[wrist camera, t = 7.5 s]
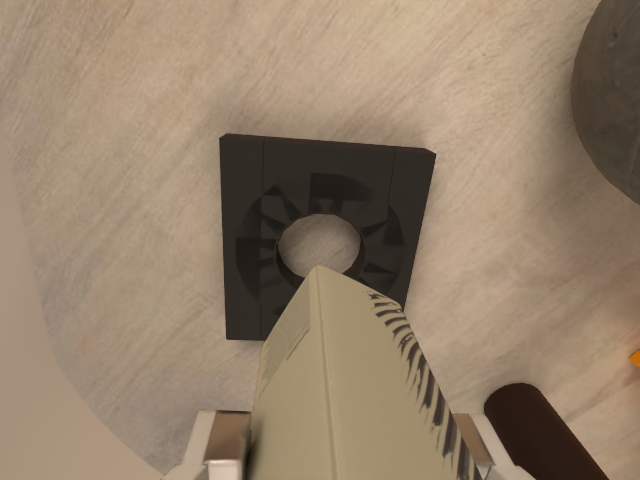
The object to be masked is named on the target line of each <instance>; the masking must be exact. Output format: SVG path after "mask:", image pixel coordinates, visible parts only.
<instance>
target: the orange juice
mask: <svg viewBox="0 0 640 480" xmlns="http://www.w3.org/2000/svg"><path fill="white" fill-rule="evenodd" d="M629 359H630V360H631V361H633V362H634V363H635V364H636V365H637V366H639V367H640V350H638V351H637V352H636V353H634V354H633V355H632V356H630V357H629Z"/></svg>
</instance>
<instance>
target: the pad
mask: <svg viewBox="0 0 640 480" xmlns="http://www.w3.org/2000/svg"><path fill="white" fill-rule="evenodd" d="M219 143H220V172H221V201H222V230H223V259H224V288H225V317H226V339H227V340H256V341H260V340H261V341H266V340H267V338H268V336H269V335H270V333H271V331H272V330H273V328H274V326H275V325H276V323H277V322H278V320H279V318H280V317H281V315H282V313H283V312H284V310H285V309H286V307H287V306H288V304H289V302H290V301H291V299H292V298H293V296H294V295H295V293H296V292H297V290H298V289H299V287H300V286H301V284H302V283H303V281H304V280H305V278H303V277H300V276H298V275H296V274H294V273H293V272H292V271H291V270H290V269H289V268H288V267H287V266H286V265H285V264H283V261H282V259H281V257H280V254H279V252H278V241H279V240H280V238H281V236H282V234H283V232H284V230H285V229H287V228H288V227H289V226H290V225H291V224H293V223H294V222H295V221H296V220H297V219H300V218H303V217H306V216H310V215H313V214H331V215H336V216H338V217H340V218H342V219H344V220H346V221H348V222H350V223H351V224H352V225H353V226H354V227H355V229H356V230H357V231H358V232H359V233H360V237H361V244H360V251H359V255H358V257H357V258H356V260H355V262H354V263H353V265H352V266H351V267H350V268H349V269H348V270H346V271H345V272H344V273H342V274H343V275H345V276H347V277H349V278H351V279H353V280H355V281H357V282H359V283H361V284H363V285H365V286H367V287H369V288H371V289H373V290H375V291H377V292H379V293H380V294H382V295H384V296H386V297H388V298H390V299H392V300H393V301H395V302H397V303H399V305H400V306H401V308H402V311H403V312H404V307H405V302H406V297H407V293H408V288H409V283H410V278H411V273H412V269H413V264H414V259H415V254H416V250H417V245H418V240H419V235H420V230H421V226H422V221H423V216H424V211H425V207H426V202H427V197H428V192H429V187H430V183H431V178H432V173H433V168H434V164H435V159H436V154H435V153H433V152H431V151H429V150H427V149H425V148H412V147H399V146H386V145H373V144H360V143H346V142H333V141H320V140H306V139H293V138H280V137H266V136H253V135H240V134H225V135H223V136H222V137H220V138H219Z"/></svg>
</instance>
